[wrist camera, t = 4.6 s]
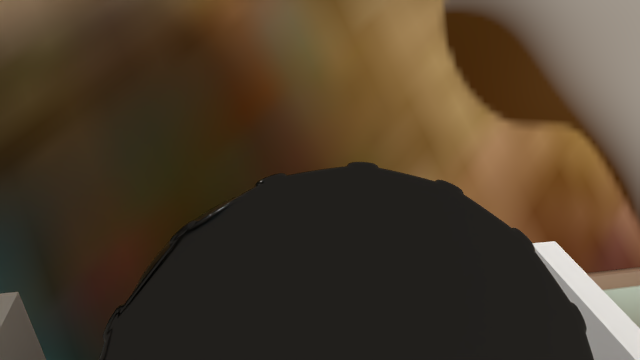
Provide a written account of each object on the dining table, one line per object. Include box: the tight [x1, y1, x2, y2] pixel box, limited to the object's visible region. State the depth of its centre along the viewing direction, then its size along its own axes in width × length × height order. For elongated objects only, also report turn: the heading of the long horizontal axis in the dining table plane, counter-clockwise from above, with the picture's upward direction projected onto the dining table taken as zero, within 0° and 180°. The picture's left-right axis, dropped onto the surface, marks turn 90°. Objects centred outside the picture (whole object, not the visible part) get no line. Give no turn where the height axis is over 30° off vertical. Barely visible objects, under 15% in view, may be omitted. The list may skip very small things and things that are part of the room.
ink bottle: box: [99, 162, 594, 360], centre depth 11 cm, size 10×9×12 cm
